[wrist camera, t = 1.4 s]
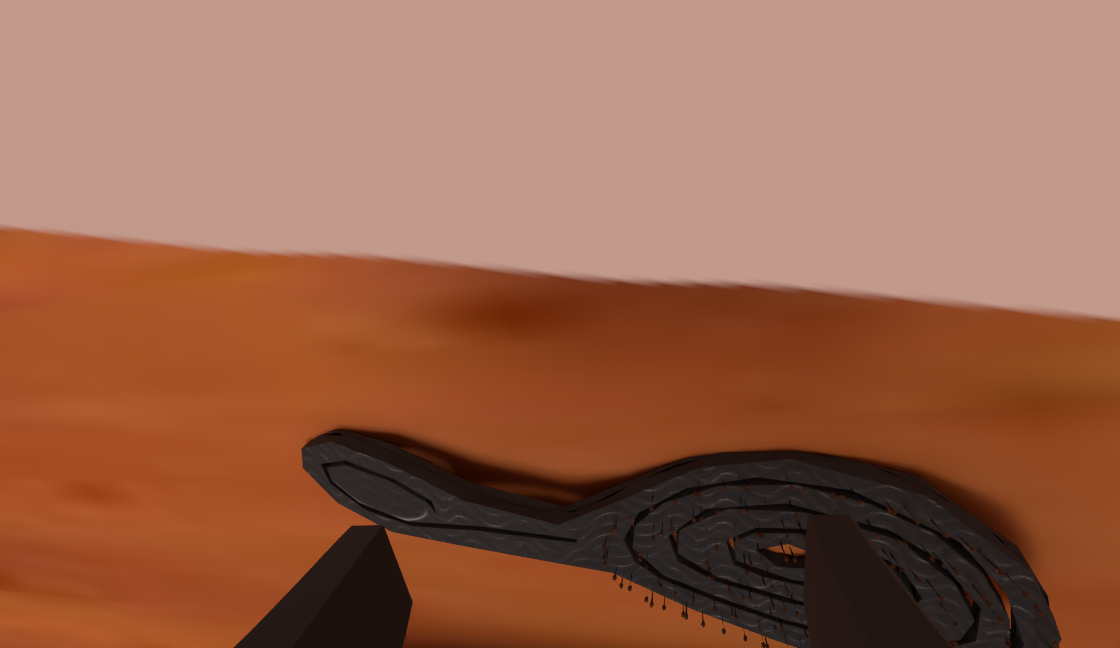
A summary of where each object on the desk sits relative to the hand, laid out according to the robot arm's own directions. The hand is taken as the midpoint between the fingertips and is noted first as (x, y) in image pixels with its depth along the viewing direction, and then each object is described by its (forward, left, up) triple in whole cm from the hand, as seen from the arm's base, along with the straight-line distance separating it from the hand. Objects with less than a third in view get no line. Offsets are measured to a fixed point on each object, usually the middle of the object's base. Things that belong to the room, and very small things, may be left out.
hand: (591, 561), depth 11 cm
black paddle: (0, +8, -10) cm, 13 cm away
